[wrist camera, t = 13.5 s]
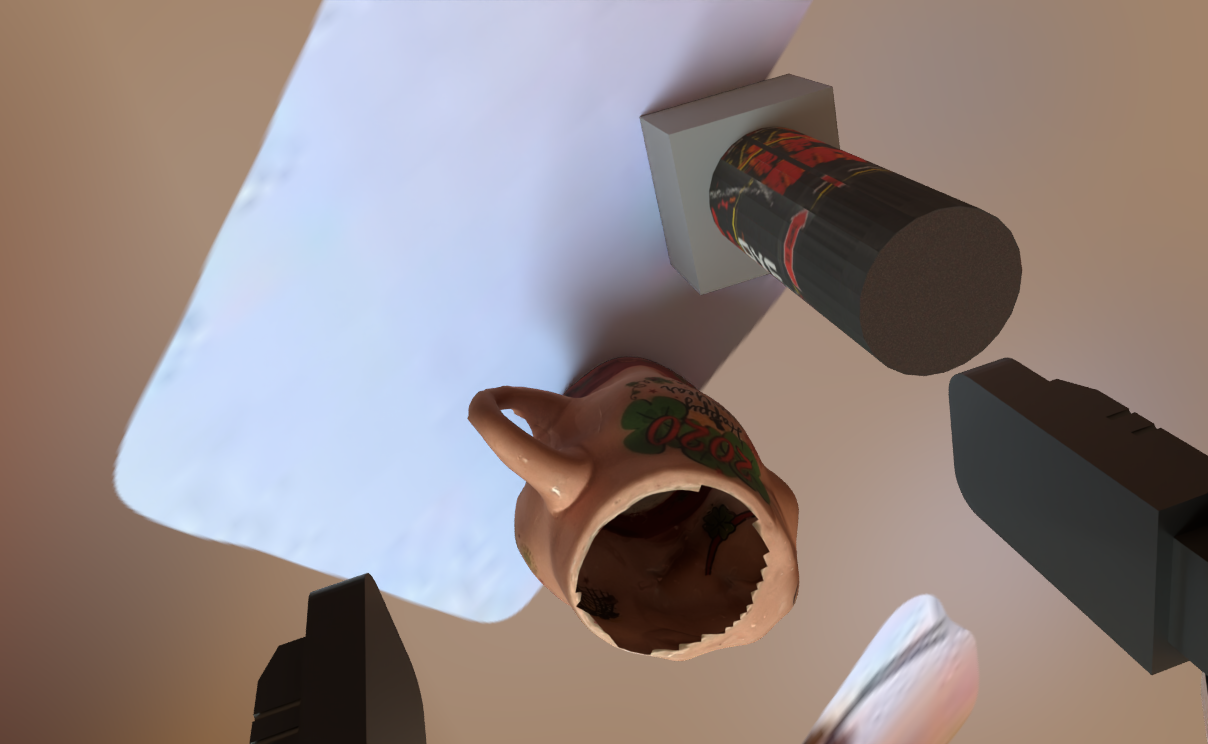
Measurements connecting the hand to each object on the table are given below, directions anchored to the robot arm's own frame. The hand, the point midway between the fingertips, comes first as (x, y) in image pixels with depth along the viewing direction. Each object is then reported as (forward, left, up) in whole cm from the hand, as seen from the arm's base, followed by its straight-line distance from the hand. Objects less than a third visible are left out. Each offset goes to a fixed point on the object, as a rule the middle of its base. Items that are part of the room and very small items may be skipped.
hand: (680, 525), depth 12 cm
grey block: (+7, +13, -36) cm, 39 cm away
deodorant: (+7, +13, -31) cm, 35 cm away
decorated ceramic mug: (+19, +3, -36) cm, 41 cm away
